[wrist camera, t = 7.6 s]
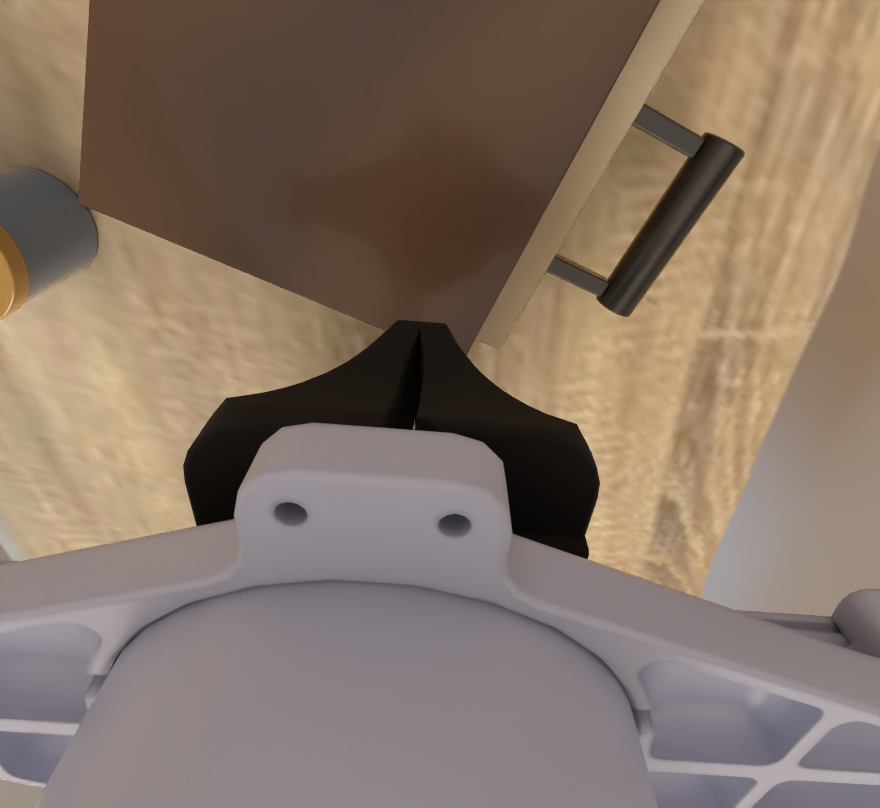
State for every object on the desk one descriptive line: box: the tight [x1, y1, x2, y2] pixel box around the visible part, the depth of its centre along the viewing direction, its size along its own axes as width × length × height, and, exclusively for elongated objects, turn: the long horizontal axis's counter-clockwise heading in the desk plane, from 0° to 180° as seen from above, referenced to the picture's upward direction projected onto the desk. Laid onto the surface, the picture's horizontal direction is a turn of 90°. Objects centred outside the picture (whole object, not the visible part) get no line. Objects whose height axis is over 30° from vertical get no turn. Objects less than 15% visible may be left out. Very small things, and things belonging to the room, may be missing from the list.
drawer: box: [476, 0, 745, 349], centre depth 17 cm, size 16×11×5 cm
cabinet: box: [78, 0, 660, 355], centre depth 16 cm, size 12×12×6 cm
